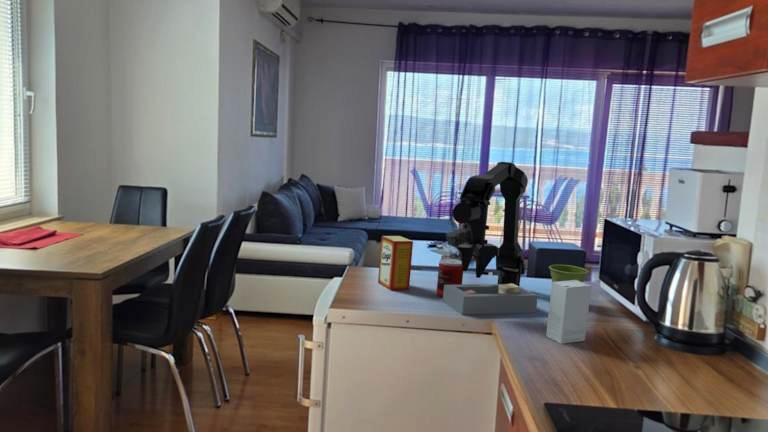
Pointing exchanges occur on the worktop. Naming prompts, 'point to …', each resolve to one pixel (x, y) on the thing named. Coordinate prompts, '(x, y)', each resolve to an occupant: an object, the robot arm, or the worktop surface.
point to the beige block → (509, 289)
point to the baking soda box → (395, 262)
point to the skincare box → (568, 311)
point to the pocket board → (488, 300)
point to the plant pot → (567, 273)
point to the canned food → (449, 274)
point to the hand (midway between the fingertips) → (471, 274)
